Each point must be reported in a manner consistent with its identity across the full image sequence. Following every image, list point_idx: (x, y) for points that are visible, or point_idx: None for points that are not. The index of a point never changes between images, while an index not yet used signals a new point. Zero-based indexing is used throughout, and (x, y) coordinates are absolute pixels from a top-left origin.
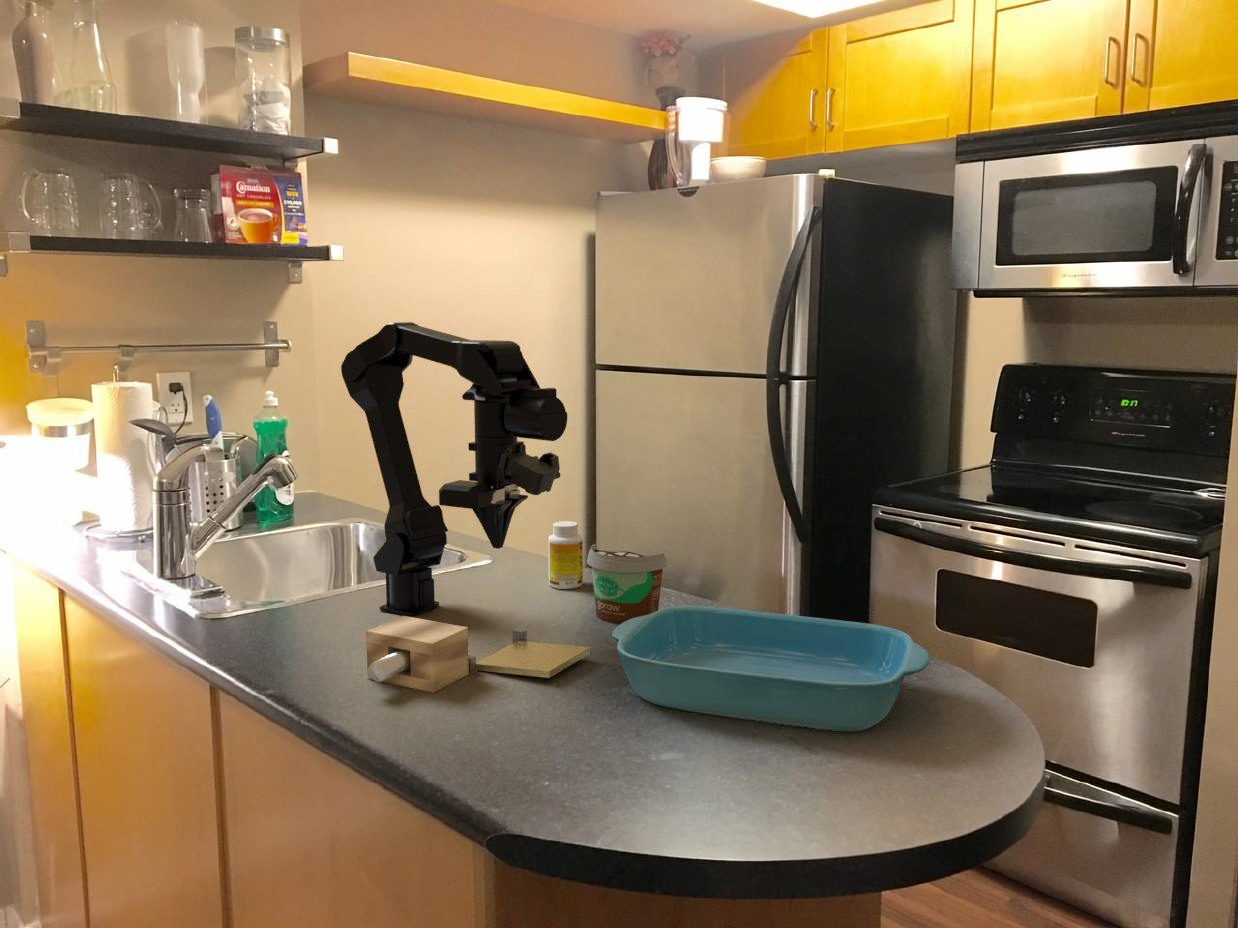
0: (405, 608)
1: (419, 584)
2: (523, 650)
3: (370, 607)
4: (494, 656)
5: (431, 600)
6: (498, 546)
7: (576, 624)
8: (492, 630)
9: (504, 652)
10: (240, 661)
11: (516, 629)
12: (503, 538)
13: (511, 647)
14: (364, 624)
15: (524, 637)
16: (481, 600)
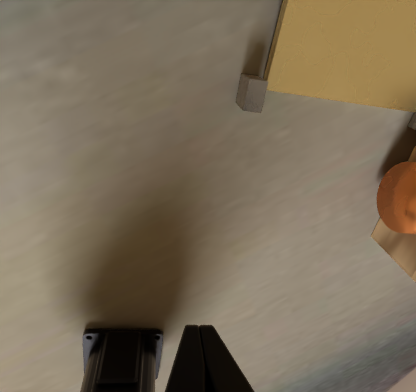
0: (153, 351)
1: (137, 381)
2: (344, 37)
3: None
4: (378, 91)
5: (116, 340)
6: (216, 333)
7: (28, 7)
8: (174, 187)
9: (353, 81)
10: (384, 374)
11: (249, 107)
12: (193, 359)
13: (316, 81)
14: None
15: (255, 77)
16: (6, 292)
